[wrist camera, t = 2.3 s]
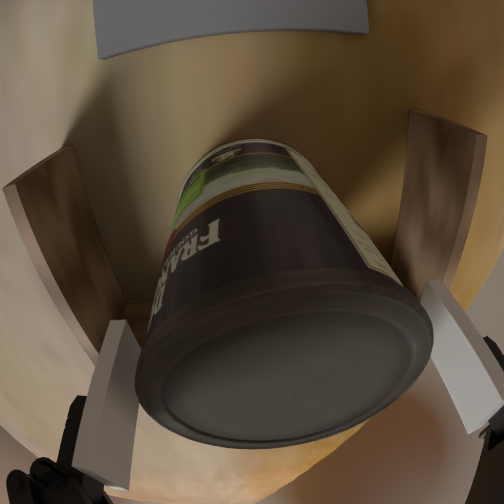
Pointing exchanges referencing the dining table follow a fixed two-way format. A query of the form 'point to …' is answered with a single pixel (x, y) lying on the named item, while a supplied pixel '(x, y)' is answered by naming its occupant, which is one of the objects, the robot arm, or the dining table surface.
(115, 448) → the robot arm
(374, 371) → the coffee can
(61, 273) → the walnut u-shaped frame
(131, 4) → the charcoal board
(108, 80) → the dining table surface
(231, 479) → the dining table surface
